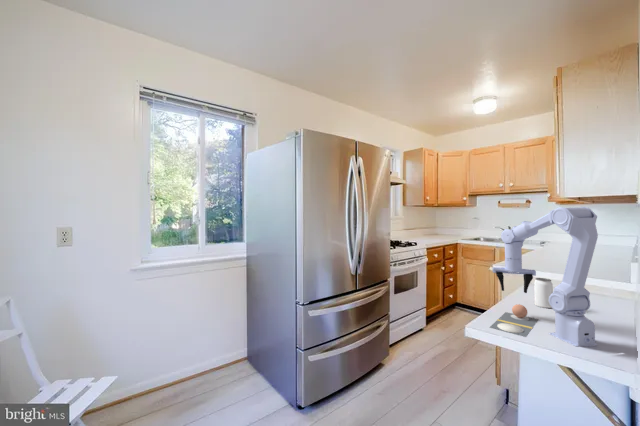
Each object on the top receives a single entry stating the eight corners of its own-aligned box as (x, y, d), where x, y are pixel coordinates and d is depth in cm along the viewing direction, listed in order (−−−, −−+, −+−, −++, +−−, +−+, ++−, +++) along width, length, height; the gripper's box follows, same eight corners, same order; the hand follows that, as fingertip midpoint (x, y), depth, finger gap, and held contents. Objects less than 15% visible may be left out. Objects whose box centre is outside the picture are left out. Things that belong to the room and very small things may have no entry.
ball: (530, 319, 109) (530, 306, 109) (519, 319, 108) (518, 307, 108) (520, 314, 114) (520, 302, 114) (509, 315, 113) (508, 303, 113)
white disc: (529, 332, 98) (529, 331, 98) (508, 333, 97) (508, 333, 97) (511, 323, 106) (511, 322, 106) (492, 324, 105) (492, 323, 105)
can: (556, 309, 121) (556, 281, 121) (539, 308, 122) (539, 280, 122) (547, 304, 127) (547, 277, 127) (531, 303, 129) (531, 277, 129)
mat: (525, 338, 94) (525, 336, 94) (489, 328, 102) (489, 327, 102) (538, 320, 109) (538, 318, 109) (505, 313, 117) (505, 311, 117)
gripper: (533, 258, 115) (533, 290, 115) (491, 256, 122) (492, 287, 122) (536, 260, 109) (537, 295, 109) (493, 258, 116) (493, 291, 116)
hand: (513, 291), depth 115 cm, fingers open, 7 cm apart
